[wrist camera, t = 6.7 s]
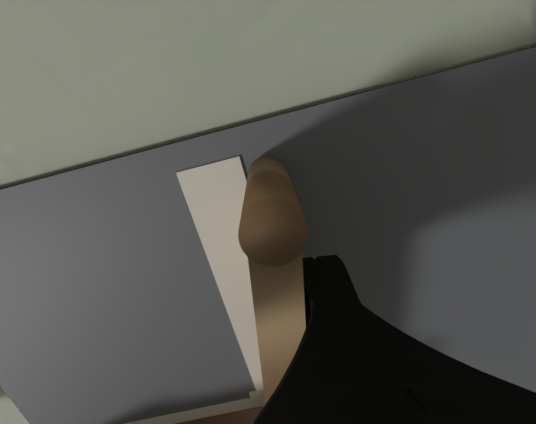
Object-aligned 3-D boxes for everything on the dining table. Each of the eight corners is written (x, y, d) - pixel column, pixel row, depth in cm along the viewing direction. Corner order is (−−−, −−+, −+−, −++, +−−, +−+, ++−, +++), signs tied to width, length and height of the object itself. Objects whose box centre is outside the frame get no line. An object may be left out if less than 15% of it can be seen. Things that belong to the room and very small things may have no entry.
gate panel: (300, 393, 15) (320, 539, 10) (272, 395, 15) (277, 542, 10) (285, 153, 11) (306, 199, 6) (246, 157, 11) (233, 205, 6)
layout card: (533, 428, 17) (541, 437, 17) (105, 508, 19) (101, 518, 18) (568, 37, 10) (582, 34, 10) (-114, 219, 12) (-130, 224, 11)
